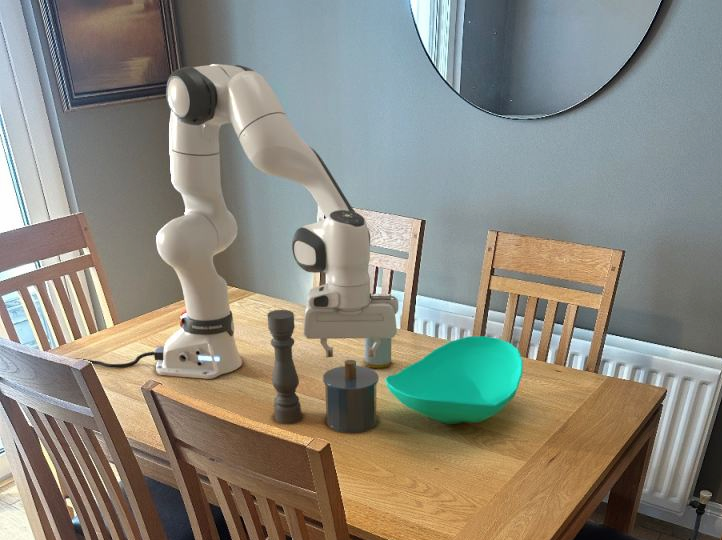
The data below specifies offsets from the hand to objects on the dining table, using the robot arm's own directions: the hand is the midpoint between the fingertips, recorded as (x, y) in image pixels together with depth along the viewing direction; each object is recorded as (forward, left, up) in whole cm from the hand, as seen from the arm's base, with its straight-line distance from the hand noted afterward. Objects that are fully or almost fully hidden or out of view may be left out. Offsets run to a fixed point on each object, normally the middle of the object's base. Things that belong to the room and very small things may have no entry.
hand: (350, 356), depth 162 cm
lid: (0, 0, -6) cm, 6 cm away
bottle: (+7, +33, -16) cm, 38 cm away
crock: (0, 0, -16) cm, 16 cm away
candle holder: (-15, +2, -16) cm, 22 cm away
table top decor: (+24, +2, -16) cm, 29 cm away
